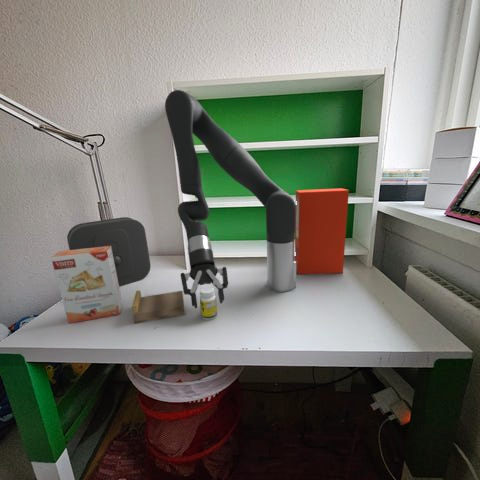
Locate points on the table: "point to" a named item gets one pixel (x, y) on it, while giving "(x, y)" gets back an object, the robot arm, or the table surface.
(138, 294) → the dock
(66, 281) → the cracker box
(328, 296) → the table surface
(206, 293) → the supplement bottle
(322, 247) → the file binder
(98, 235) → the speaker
